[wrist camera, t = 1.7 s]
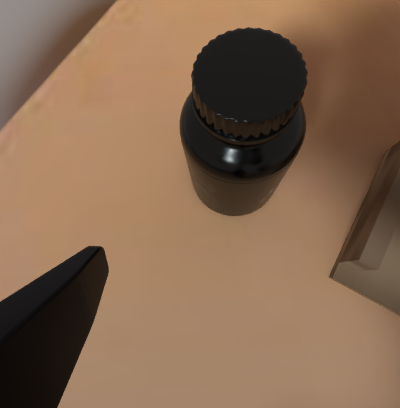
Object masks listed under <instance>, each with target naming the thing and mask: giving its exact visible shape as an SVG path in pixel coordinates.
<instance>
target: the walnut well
mask: <svg viewBox="0 0 400 408" xmlns="http://www.w3.org/2000/svg"><path fill="white" fill-rule="evenodd" d="M329 278H331V279H333V280H335V281H336V282H338V283H340V284H342V285H344V286H346V287H348V288H349V289H351V290H353V291H355V292H357V293H359V294H361V295H362V296H364V297H366V298H368V299H370V300H372V301H374V302H375V303H377V304H379V305H381V306H383V307H385V308H387V309H388V310H390V311H392V312H394V313H396V314H398V315H399V316H400V141H399V142H398V143H397V144H395V145H394V146H393V147H391V148H390V149H389V150H387V151H386V153H385V155H384V158H383V160H382V162H381V164H380V166H379V169H378V171H377V173H376V175H375V177H374V180H373V182H372V184H371V186H370V188H369V191H368V193H367V195H366V197H365V199H364V202H363V204H362V206H361V208H360V210H359V213H358V215H357V217H356V219H355V222H354V224H353V226H352V228H351V230H350V233H349V235H348V237H347V239H346V241H345V244H344V246H343V248H342V250H341V252H340V255H339V257H338V259H337V261H336V263H335V266H334V268H333V270H332V272H331V274H330V277H329Z"/></svg>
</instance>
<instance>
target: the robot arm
mask: <svg viewBox="0 0 400 408" xmlns="http://www.w3.org/2000/svg"><path fill="white" fill-rule="evenodd" d="M108 272H109V267H108V263H107V259H106V255H105V251H104V249H103V247H101V246H88V247H86V248H85V249H83V250H81V251H80V252H78V253H77V254H75V255H74V256H72V257H70V258H69V259H67V260H66V261H64V262H62V263H61V264H59V265H58V266H56V267H55V268H53V269H51V270H50V271H48V272H47V273H45V274H43V275H42V276H40V277H39V278H37V279H36V280H34V281H32V282H31V283H29V284H28V285H26V286H24V287H23V288H21V289H20V290H18V291H17V292H15V293H13V294H12V295H10V296H9V297H7V298H5V299H4V300H2V301H1V302H0V408H57V407H58V405H59V402H60V400H61V398H62V395H63V393H64V391H65V388H66V386H67V384H68V381H69V379H70V377H71V374H72V372H73V369H74V367H75V365H76V362H77V360H78V358H79V355H80V353H81V351H82V348H83V346H84V344H85V341H86V339H87V337H88V334H89V332H90V329H91V327H92V324H93V322H94V319H95V316H96V313H97V309H98V306H99V303H100V300H101V296H102V293H103V290H104V286H105V283H106V280H107V276H108Z"/></svg>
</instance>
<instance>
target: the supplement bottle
mask: <svg viewBox="0 0 400 408" xmlns="http://www.w3.org/2000/svg"><path fill="white" fill-rule="evenodd" d="M305 65H306V62H305V61H304V60H303V59H302V54H301V53H300V52H299V51H298V50H297V48H296V46H295V45H293V44H291V43H290V41H289V40H288V39H286V38H283V37H282V36H281V35H280V34H277V33H273V32H272V31H270V30H263V29H261V28H256V29H253V28H249V27H248V28H245V29H239V28H238V29H236V30H234V31H227V32H226V33H224V34H221V35H218V36H217V37H216V38H215V39H213V40H211V41H209V43H208V45H206V46H204V47H203V48H202V51H201V53H199V54H198V55H197V60H196V61H195V63H194V64H193V71H192V75H191V78H192V91H191V93H190V94H189V96H188V97H187V99H186V101H185V103H184V105H183V108H182V111H181V116H180V136H181V141H182V145H183V149H184V153H185V157H186V160H187V164H188V168H189V172H190V176H191V180H192V183H193V186H194V189H195V191H196V193H197V195H198V197H199V198H200V200H201V201H202V202H203V203H204V204H205V205H206V206H207V207H209V208H210V209H211V210H213V211H215V212H217V213H220V214H223V215H228V216H242V215H246V214H250V213H252V212H254V211H256V210H258V209H259V208H261V207H262V206H263V205H264V204H265V203H266V202H267V201H268V200H269V199H270V198H271V196H272V195H273V193H274V191H275V190H276V188H277V187H278V185H279V183H280V182H281V180H282V178H283V177H284V175H285V174H286V172H287V170H288V169H289V167H290V165H291V164H292V162H293V161H294V159H295V157H296V156H297V154H298V152H299V150H300V148H301V146H302V143H303V140H304V137H305V131H306V117H305V112H304V108H303V105H302V103H301V99H302V97H303V95H304V90H305V88H306V85H307V79H306V77H307V73H308V72H307V70H306V68H305Z"/></svg>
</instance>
